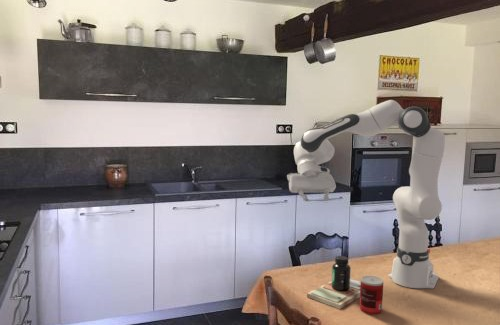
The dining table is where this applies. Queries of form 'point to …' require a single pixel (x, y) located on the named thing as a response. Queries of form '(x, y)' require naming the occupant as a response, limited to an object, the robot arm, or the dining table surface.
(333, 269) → the supplement bottle
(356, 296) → the tile board
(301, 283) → the dining table surface
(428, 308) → the dining table surface
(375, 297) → the canned food
